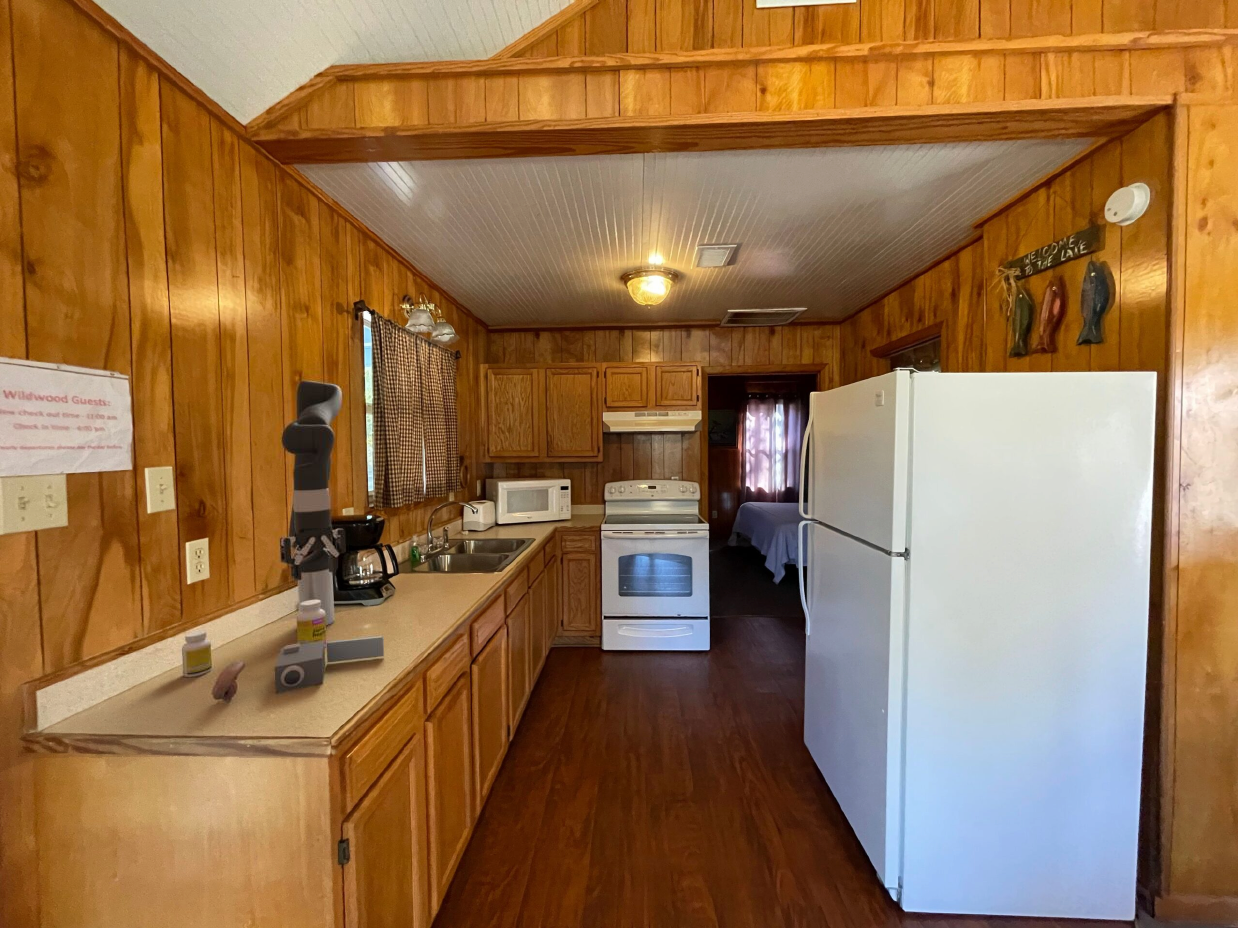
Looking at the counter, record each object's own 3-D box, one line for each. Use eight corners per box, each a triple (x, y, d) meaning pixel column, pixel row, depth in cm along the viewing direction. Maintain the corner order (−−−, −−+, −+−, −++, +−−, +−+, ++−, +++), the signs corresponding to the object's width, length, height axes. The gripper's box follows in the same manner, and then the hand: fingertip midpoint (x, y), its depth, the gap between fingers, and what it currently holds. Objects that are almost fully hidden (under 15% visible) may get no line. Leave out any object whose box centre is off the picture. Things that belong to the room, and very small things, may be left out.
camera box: (282, 672, 121) (281, 643, 121) (325, 663, 126) (324, 636, 125) (275, 696, 109) (273, 665, 109) (322, 686, 114) (321, 656, 113)
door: (327, 662, 125) (326, 643, 125) (329, 660, 127) (328, 640, 126) (383, 656, 128) (382, 637, 128) (384, 654, 130) (383, 635, 129)
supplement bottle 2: (313, 654, 132) (310, 606, 131) (292, 653, 133) (289, 605, 132) (332, 644, 138) (330, 598, 138) (312, 643, 139) (309, 597, 139)
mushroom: (227, 710, 104) (225, 673, 104) (199, 710, 104) (197, 672, 104) (256, 692, 111) (254, 657, 111) (230, 692, 112) (228, 657, 112)
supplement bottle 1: (217, 669, 124) (215, 630, 124) (192, 679, 119) (190, 638, 119) (202, 666, 126) (200, 628, 125) (177, 676, 121) (175, 636, 120)
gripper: (287, 513, 111) (290, 585, 112) (350, 505, 123) (353, 570, 124) (271, 511, 115) (275, 581, 116) (334, 503, 127) (337, 567, 128)
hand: (315, 575), depth 120 cm, fingers open, 7 cm apart
